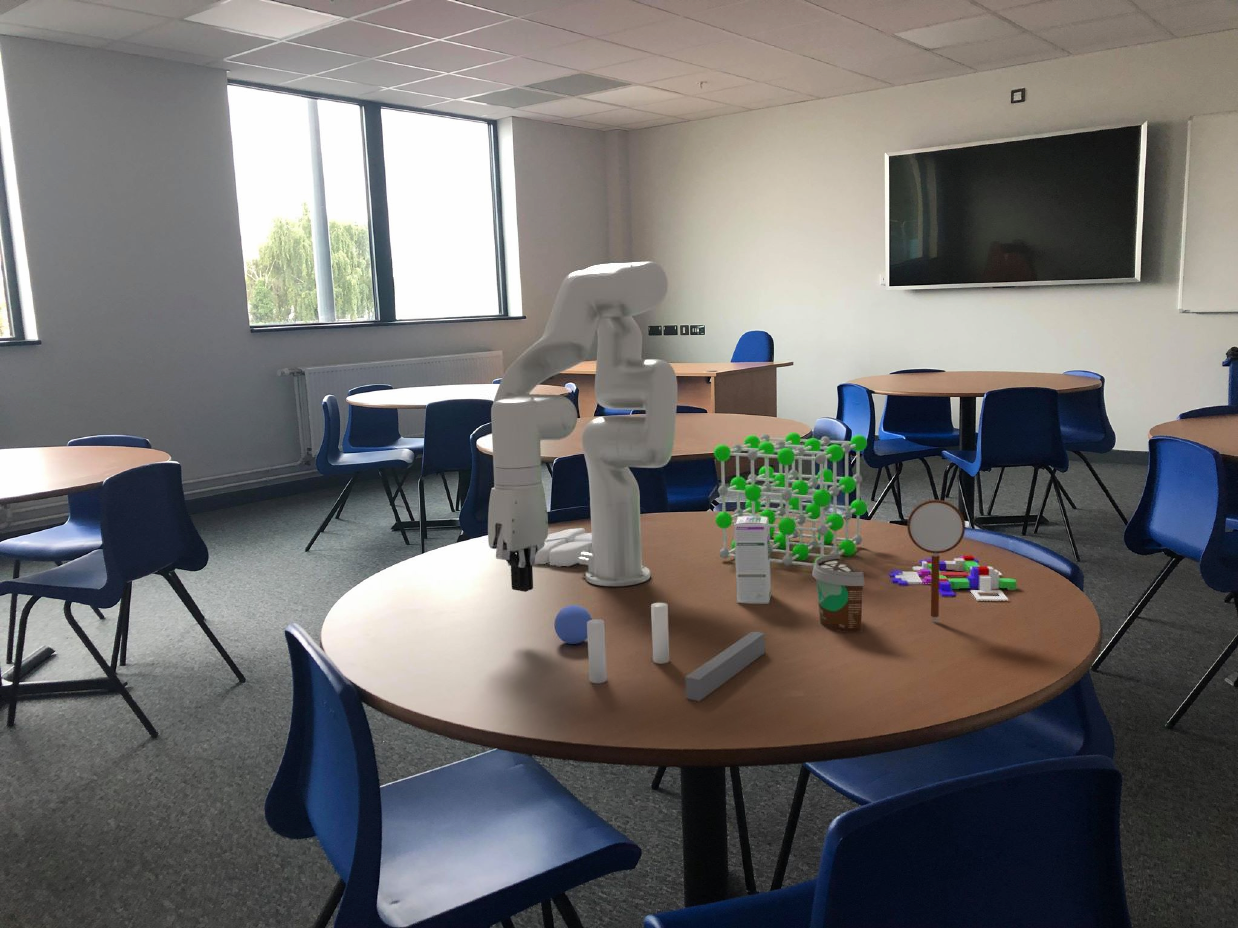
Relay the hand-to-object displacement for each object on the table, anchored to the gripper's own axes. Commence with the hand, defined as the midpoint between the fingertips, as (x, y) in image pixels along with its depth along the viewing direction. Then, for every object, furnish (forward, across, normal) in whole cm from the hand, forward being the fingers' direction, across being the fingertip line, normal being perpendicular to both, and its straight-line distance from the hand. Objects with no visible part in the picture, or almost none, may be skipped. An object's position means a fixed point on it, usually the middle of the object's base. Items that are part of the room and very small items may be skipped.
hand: (522, 589), depth 150 cm
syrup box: (+7, -34, +24) cm, 42 cm away
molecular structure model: (+6, -65, +18) cm, 68 cm away
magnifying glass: (+7, -36, +55) cm, 66 cm away
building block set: (+7, -60, +51) cm, 79 cm away
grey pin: (+8, +10, +21) cm, 25 cm away
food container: (+7, -28, +41) cm, 50 cm away
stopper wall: (+8, -1, +36) cm, 37 cm away
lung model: (+7, -47, -24) cm, 53 cm away
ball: (+5, -1, +9) cm, 11 cm away
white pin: (+8, -1, +25) cm, 27 cm away
